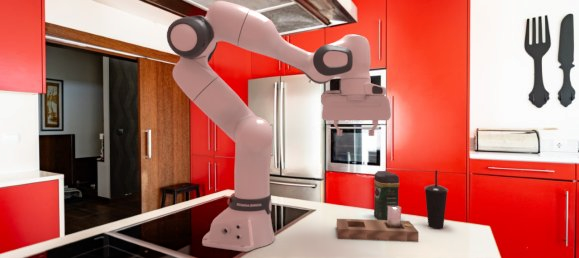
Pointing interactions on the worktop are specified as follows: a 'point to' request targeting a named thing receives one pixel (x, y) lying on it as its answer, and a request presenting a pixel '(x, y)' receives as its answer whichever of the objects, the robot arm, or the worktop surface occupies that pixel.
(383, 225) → the board
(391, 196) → the coffee jar
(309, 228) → the worktop surface
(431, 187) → the drinking cup
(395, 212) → the pin
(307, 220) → the worktop surface
